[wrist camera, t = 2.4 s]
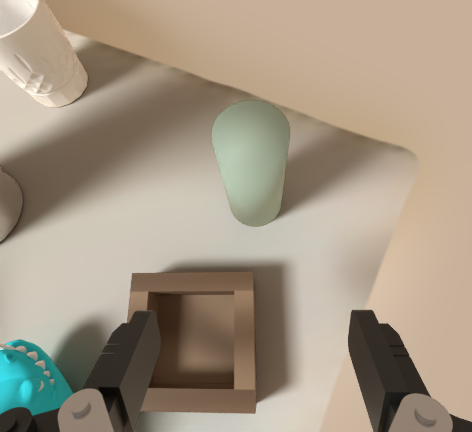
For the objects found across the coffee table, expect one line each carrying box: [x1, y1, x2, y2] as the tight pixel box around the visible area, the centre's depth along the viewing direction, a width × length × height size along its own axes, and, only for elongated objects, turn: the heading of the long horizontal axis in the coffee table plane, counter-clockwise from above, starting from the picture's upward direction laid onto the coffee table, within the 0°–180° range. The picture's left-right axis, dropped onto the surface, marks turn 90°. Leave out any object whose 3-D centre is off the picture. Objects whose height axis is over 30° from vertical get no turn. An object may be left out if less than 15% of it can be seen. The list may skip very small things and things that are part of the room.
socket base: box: [127, 272, 257, 414], centre depth 27 cm, size 10×10×4 cm
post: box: [211, 100, 290, 227], centre depth 27 cm, size 5×5×12 cm
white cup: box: [0, 0, 88, 107], centre depth 35 cm, size 8×8×10 cm
